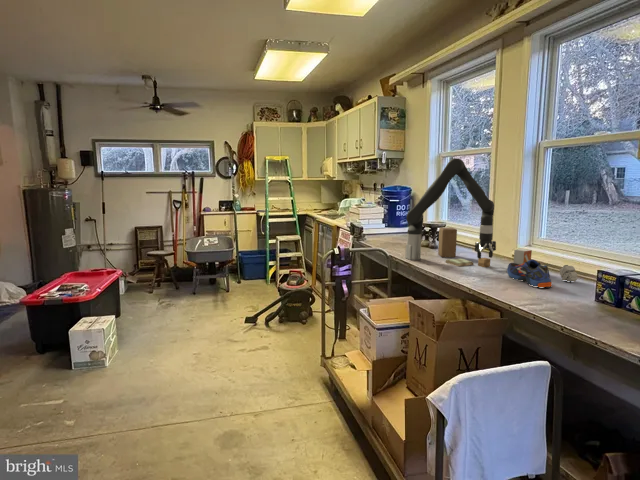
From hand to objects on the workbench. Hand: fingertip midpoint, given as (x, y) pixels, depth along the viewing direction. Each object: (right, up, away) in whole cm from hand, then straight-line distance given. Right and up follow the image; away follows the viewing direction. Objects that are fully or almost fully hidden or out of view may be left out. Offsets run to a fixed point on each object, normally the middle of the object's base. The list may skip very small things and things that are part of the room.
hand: (484, 258), depth 259 cm
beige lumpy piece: (+30, -11, -37) cm, 49 cm away
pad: (-13, -4, +8) cm, 16 cm away
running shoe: (+9, -11, -36) cm, 39 cm away
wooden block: (-14, 0, +33) cm, 36 cm away
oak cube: (0, -5, +1) cm, 5 cm away
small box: (+16, -8, -13) cm, 22 cm away
